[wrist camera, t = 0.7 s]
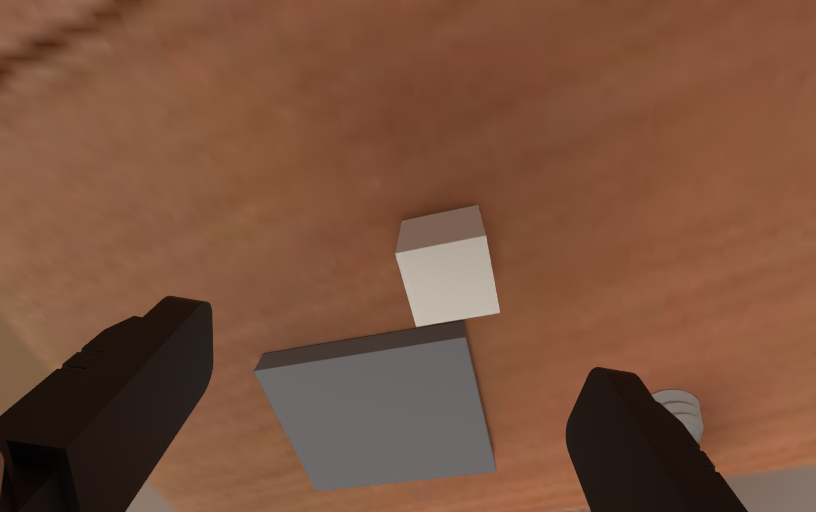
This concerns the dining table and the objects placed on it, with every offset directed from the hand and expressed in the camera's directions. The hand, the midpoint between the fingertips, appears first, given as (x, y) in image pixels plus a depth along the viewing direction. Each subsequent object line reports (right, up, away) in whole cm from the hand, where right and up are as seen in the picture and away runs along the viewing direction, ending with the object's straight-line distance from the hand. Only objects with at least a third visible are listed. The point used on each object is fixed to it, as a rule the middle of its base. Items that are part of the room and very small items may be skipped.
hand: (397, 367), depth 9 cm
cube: (+3, +3, +19) cm, 20 cm away
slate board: (-2, -10, +26) cm, 28 cm away
